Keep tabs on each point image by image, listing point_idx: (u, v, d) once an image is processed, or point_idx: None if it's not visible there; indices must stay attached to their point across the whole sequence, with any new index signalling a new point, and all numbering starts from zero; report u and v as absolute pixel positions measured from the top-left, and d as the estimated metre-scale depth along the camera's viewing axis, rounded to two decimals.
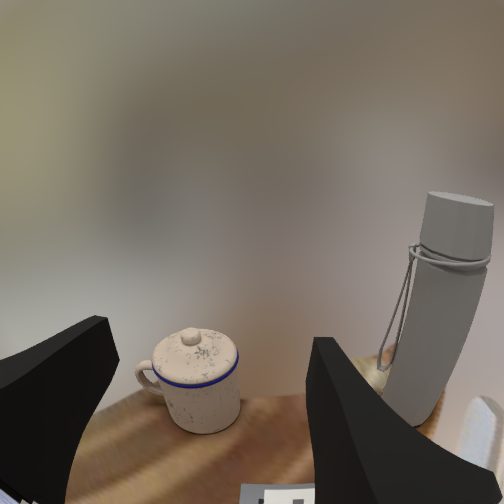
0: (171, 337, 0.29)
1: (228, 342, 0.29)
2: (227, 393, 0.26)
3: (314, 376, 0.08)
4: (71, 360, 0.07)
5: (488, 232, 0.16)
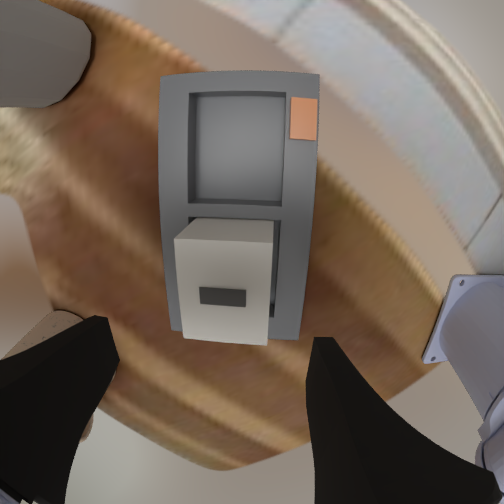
0: None
1: None
2: None
3: (314, 376, 0.08)
4: (71, 360, 0.07)
5: None
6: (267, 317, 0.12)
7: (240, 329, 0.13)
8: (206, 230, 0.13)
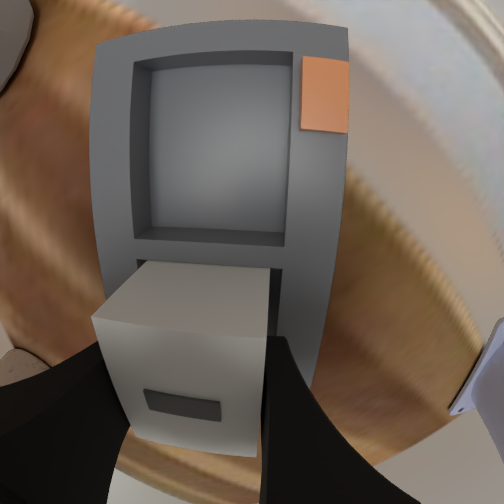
0: None
1: None
2: None
3: None
4: None
5: None
6: (256, 432, 0.07)
7: (215, 441, 0.07)
8: (151, 295, 0.07)
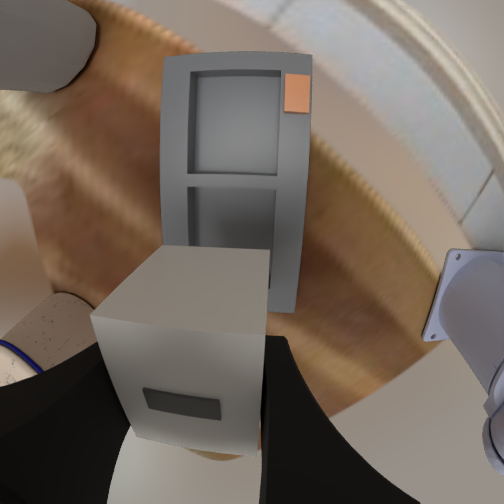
0: None
1: None
2: (50, 339, 0.16)
3: None
4: None
5: None
6: (256, 431, 0.07)
7: (215, 440, 0.07)
8: (150, 293, 0.07)
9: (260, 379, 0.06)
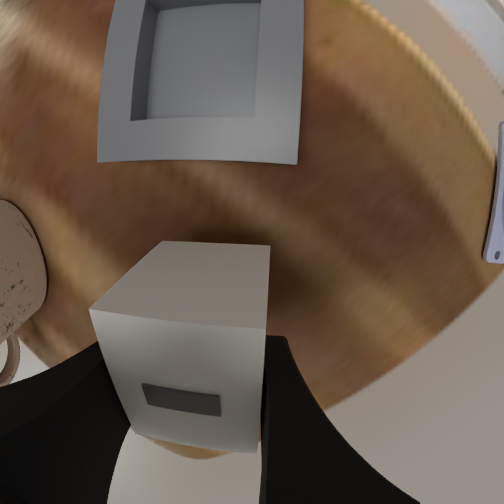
0: None
1: None
2: None
3: None
4: None
5: None
6: (257, 427, 0.07)
7: (215, 437, 0.07)
8: (149, 287, 0.07)
9: (261, 374, 0.06)
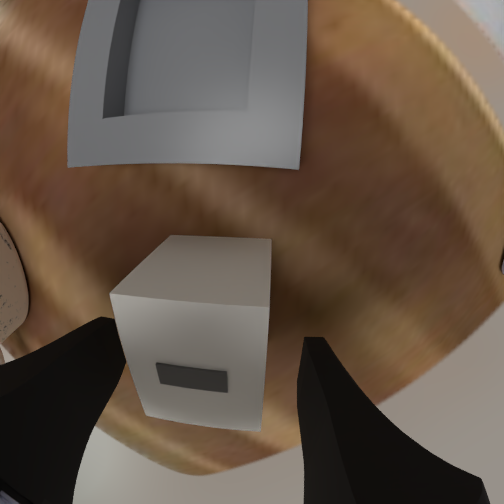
0: None
1: None
2: None
3: (304, 376, 0.08)
4: (78, 362, 0.07)
5: None
6: (260, 403, 0.07)
7: (222, 414, 0.08)
8: (164, 274, 0.08)
9: (265, 350, 0.07)
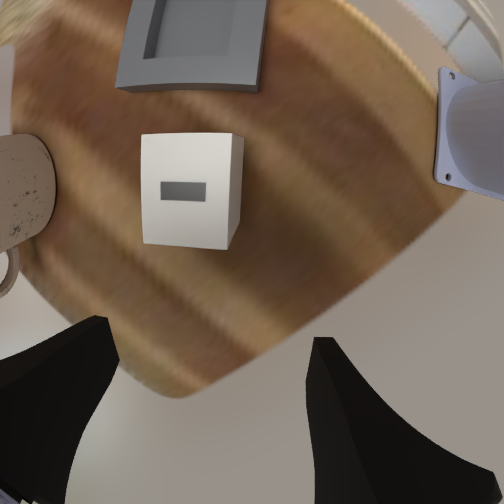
0: None
1: None
2: None
3: (314, 376, 0.08)
4: (71, 360, 0.07)
5: None
6: (227, 214, 0.12)
7: (199, 229, 0.12)
8: None
9: (229, 163, 0.11)
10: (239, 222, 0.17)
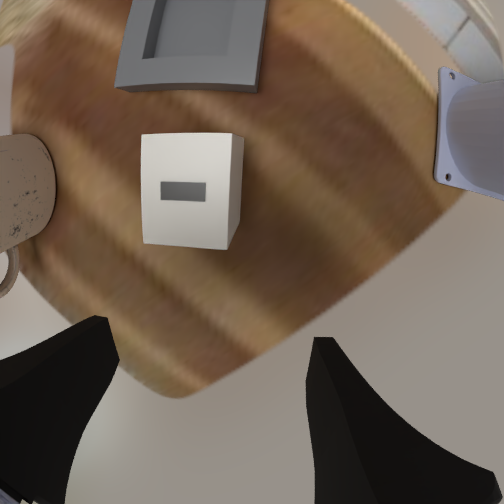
0: None
1: None
2: None
3: (314, 376, 0.08)
4: (71, 360, 0.07)
5: None
6: (226, 214, 0.12)
7: (199, 229, 0.12)
8: None
9: (229, 163, 0.11)
10: None
